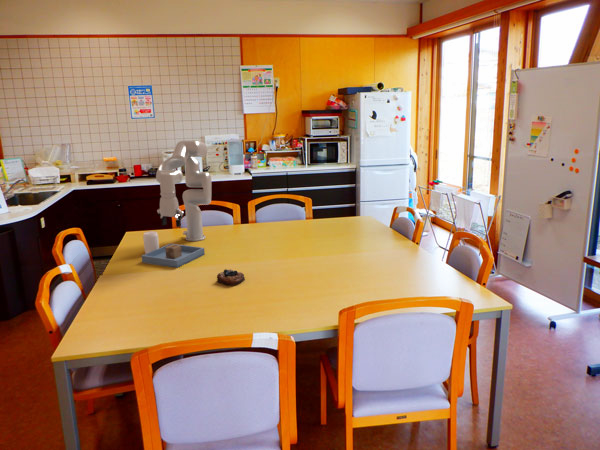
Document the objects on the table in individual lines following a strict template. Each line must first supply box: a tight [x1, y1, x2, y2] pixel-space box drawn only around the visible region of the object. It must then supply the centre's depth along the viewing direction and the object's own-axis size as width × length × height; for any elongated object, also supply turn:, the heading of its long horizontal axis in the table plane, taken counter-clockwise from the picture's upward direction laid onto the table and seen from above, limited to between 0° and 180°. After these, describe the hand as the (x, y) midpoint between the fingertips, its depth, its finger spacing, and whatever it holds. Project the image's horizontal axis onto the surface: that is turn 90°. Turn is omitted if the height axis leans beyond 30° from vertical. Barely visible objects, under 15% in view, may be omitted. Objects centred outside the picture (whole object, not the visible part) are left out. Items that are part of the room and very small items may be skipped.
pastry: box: [216, 269, 246, 287], centre depth 229 cm, size 11×12×6 cm
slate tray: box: [140, 243, 206, 269], centre depth 264 cm, size 24×24×4 cm
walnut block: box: [165, 243, 182, 259], centre depth 264 cm, size 6×6×6 cm
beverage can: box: [142, 230, 160, 254], centre depth 274 cm, size 8×8×12 cm
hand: (171, 225), depth 261 cm, fingers open, 9 cm apart
